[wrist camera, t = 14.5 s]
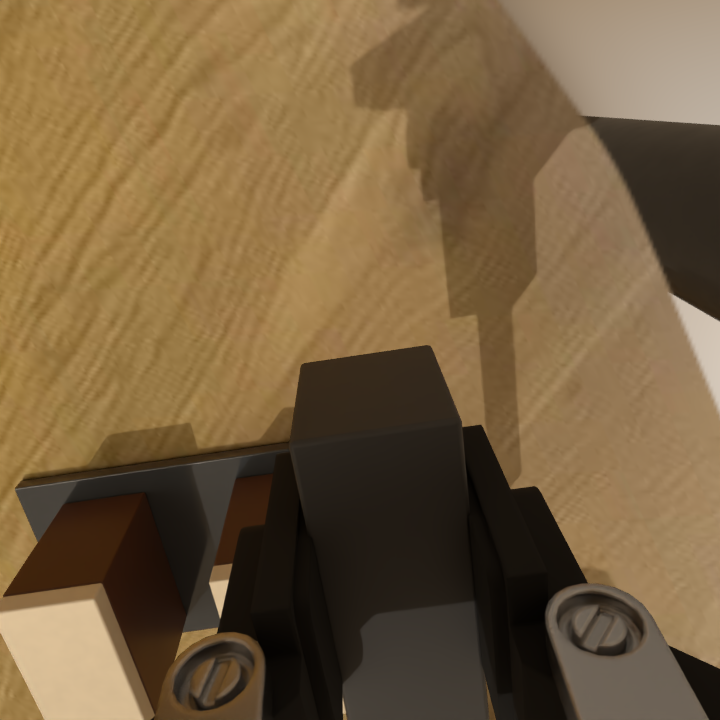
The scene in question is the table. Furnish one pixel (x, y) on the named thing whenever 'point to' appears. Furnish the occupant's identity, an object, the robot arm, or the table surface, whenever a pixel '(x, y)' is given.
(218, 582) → the cake
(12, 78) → the table surface
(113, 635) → the cake slice
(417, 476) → the knife
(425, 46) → the table surface
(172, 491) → the board
